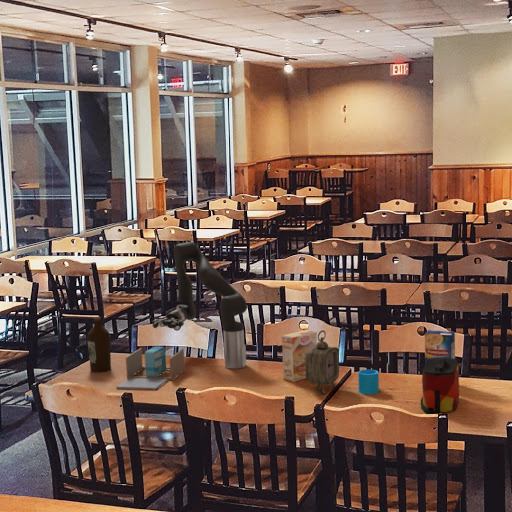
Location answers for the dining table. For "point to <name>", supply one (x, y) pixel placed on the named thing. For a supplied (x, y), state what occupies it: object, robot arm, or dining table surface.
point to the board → (141, 383)
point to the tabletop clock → (322, 364)
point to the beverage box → (439, 344)
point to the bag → (440, 385)
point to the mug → (368, 381)
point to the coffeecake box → (296, 353)
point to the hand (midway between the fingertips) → (163, 326)
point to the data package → (155, 361)
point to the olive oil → (99, 347)
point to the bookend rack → (136, 365)
